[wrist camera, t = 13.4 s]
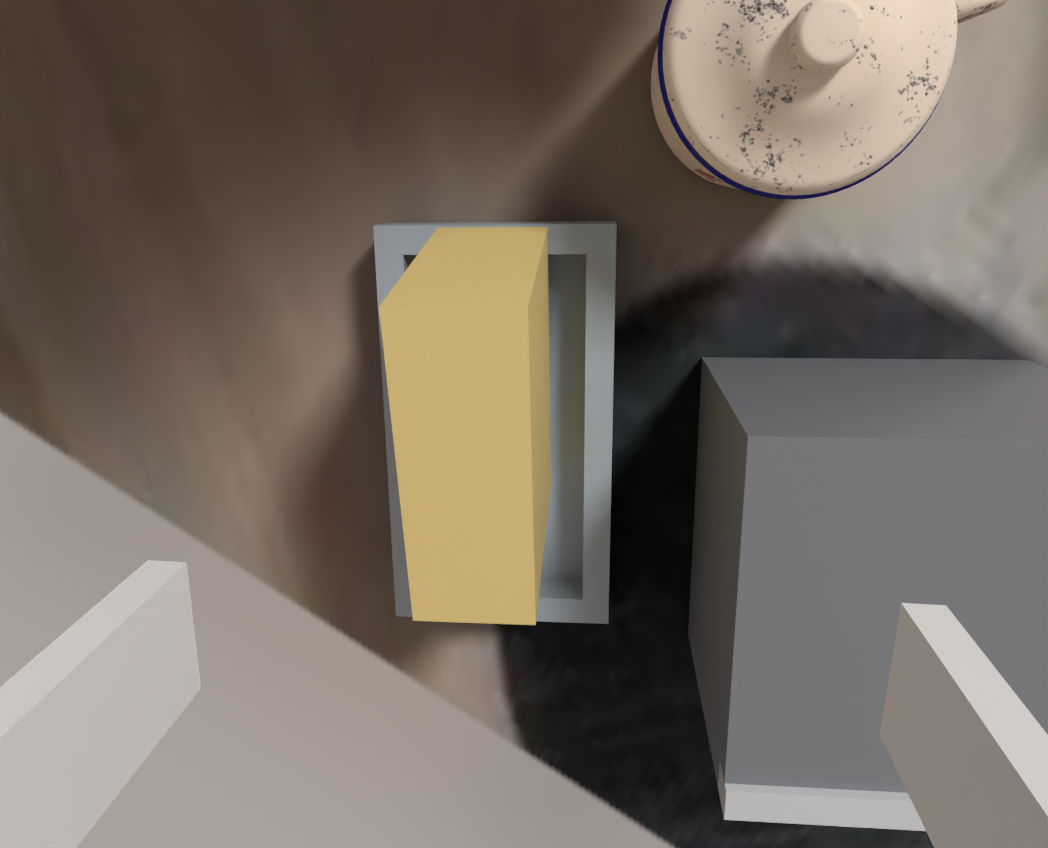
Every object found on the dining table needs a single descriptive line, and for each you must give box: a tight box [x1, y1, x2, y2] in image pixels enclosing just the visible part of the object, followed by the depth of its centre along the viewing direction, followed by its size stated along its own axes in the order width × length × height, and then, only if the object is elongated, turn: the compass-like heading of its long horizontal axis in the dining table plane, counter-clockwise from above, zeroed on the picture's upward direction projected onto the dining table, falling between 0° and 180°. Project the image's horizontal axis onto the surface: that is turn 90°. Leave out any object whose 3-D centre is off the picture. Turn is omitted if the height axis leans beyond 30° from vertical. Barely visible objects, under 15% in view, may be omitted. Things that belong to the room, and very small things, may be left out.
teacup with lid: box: [651, 0, 1008, 199], centre depth 28 cm, size 12×9×12 cm
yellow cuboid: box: [379, 227, 551, 625], centre depth 32 cm, size 12×4×10 cm, turn 1°
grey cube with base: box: [688, 357, 1048, 831], centre depth 33 cm, size 14×14×13 cm
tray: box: [373, 221, 617, 624], centre depth 38 cm, size 18×10×3 cm, turn 0°
